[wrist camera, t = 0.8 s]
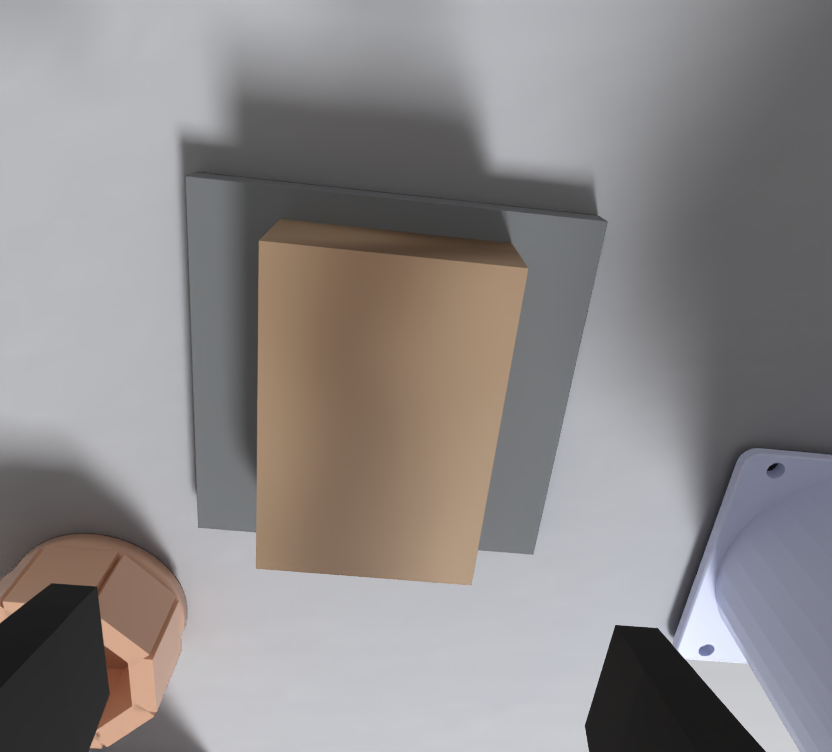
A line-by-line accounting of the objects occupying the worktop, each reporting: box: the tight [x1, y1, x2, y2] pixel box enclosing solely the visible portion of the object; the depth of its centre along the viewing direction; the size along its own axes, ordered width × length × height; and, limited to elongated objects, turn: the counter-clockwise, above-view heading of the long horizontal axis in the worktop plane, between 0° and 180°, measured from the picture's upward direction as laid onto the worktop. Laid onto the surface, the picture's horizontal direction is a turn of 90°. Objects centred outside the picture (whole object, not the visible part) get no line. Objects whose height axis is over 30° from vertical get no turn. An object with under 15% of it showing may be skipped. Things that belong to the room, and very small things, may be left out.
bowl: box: [0, 534, 187, 749], centre depth 20 cm, size 6×6×3 cm
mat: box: [186, 172, 607, 554], centre depth 18 cm, size 10×10×1 cm
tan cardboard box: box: [256, 219, 528, 585], centre depth 16 cm, size 6×8×2 cm, turn 174°
